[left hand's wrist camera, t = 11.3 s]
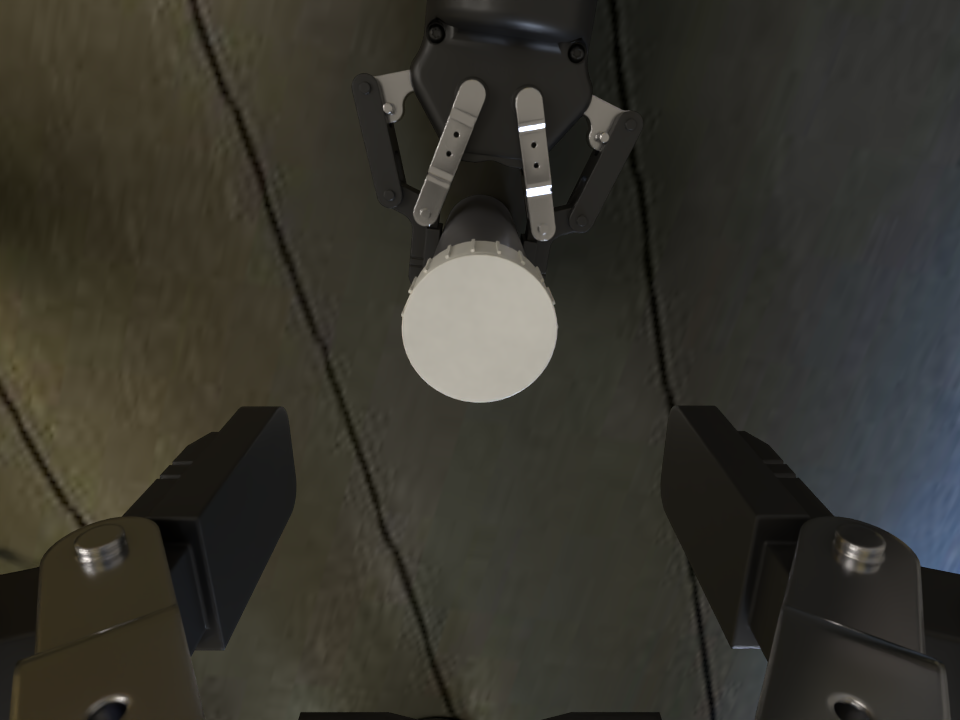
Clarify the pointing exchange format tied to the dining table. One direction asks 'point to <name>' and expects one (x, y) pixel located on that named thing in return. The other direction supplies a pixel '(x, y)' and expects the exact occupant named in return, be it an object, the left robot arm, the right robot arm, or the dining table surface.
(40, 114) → the dining table surface
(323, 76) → the dining table surface
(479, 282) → the lid
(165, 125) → the dining table surface
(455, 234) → the bottle
